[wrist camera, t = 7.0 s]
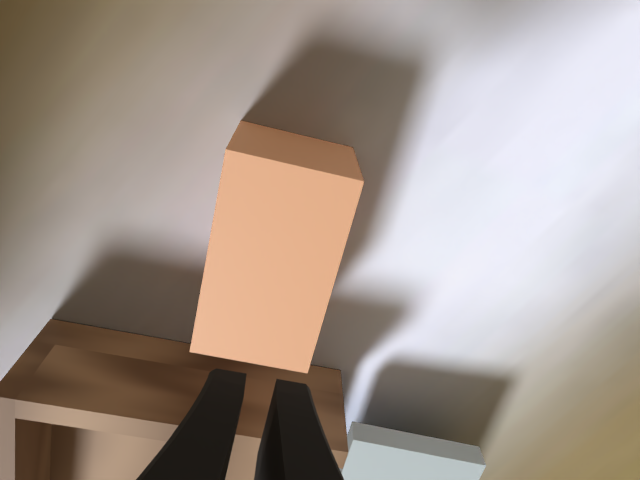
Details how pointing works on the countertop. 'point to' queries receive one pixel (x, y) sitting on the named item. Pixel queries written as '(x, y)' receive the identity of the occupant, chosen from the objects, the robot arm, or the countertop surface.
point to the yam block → (275, 246)
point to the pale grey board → (407, 456)
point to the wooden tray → (131, 404)
